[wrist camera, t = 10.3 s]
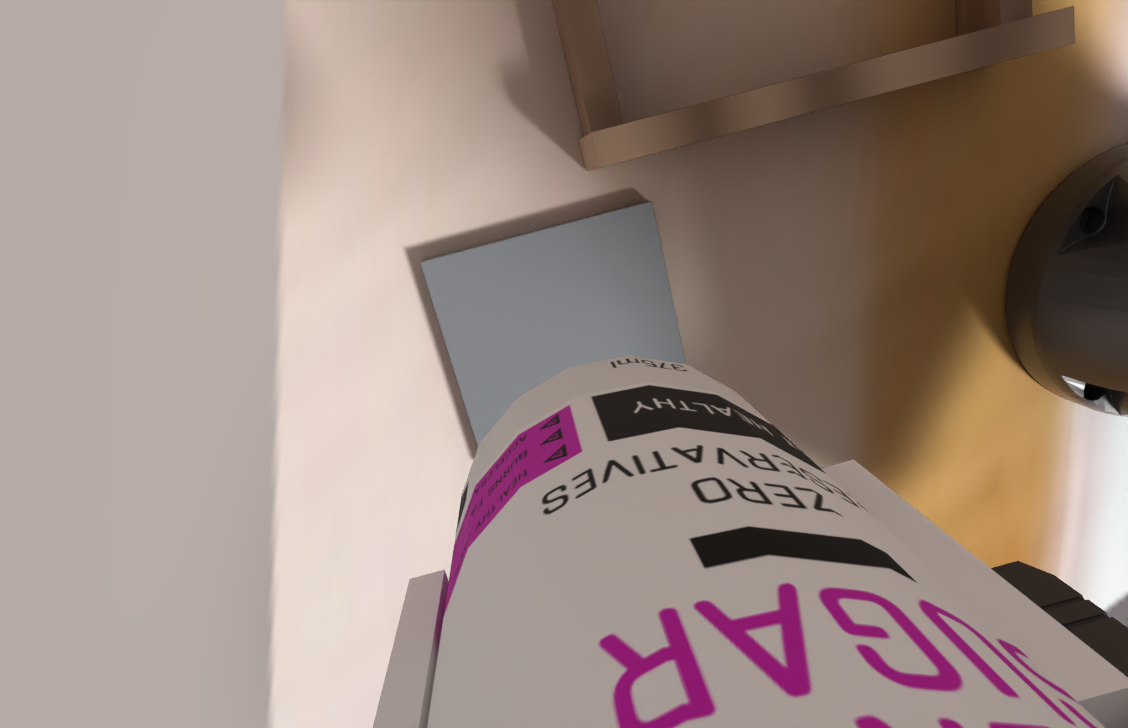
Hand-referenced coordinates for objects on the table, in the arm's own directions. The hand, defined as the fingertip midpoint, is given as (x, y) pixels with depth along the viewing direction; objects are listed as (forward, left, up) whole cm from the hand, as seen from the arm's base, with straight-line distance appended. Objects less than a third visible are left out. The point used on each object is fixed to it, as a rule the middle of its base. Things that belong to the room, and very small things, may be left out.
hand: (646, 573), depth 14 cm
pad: (0, 0, -22) cm, 22 cm away
